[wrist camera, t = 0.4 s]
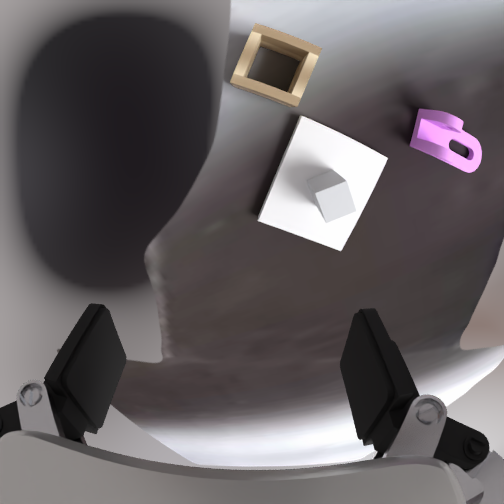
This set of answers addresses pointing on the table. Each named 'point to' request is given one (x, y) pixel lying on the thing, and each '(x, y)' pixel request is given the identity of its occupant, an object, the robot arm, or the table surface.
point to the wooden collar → (282, 45)
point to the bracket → (445, 139)
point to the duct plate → (313, 162)
